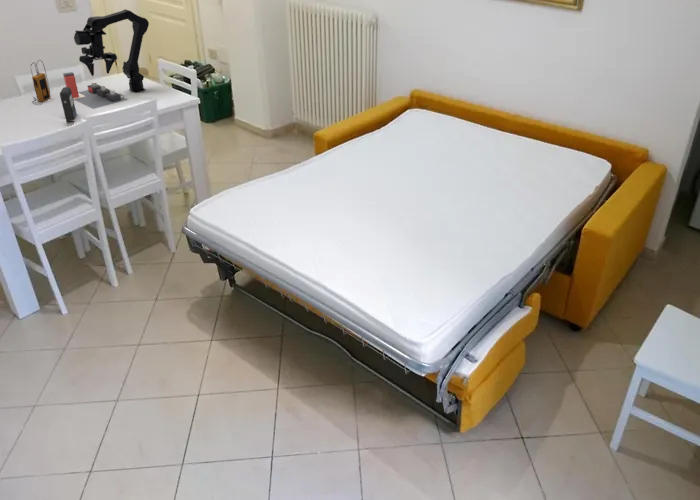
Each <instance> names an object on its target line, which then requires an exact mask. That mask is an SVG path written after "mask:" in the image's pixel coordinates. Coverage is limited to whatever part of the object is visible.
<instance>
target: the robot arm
mask: <svg viewBox="0 0 700 500" xmlns="http://www.w3.org/2000/svg"><path fill="white" fill-rule="evenodd" d="M125 20H126V21H129V22H131V23H132V25H131V26H132V31H133V32H132V33H133V35H132V40H131V45H130V50H129V55H128V59H127V60H126V61H123V64H122V73H123V75H124V76H126V78H127V79H128V85H129V91H130V92H133V93H140V92H143V91H146V88H144V83H143V81H144V78H145V76H144V75H143V74H142V73H140V66H139V59H140V53H141V47H142V43H143V37H144V35H145V34H146V33H147V31H148V28H149V25H150V23H149V21H148V19H147V18H146V17H143V16H140V15H137V14H136V13H135V12H132V10H129V9H125V8H124V9H122V10H120V11H116V12H113V13H110V14H107V15H104V16H103V15H102V16H96V15H95V16H90V17H88V18H87V20H86V24H85V26H84V28H83V29H82V30H77V29H76V30H75V33H74V35H73V40H74V44H75V45H76V46H83V45H85V46H87V45H89V47H88V48H87V47H81V53H82V55H80V56H79V62H80V63H82V64H84V65H85V66H86V67H87V69H88V71H89V74H90V75H91V76H92V77H94V75H95V63H93V62H94V61H99V60H104V62H105V71H106V74H110V73H111V69H112V66H113V65H114V63H115V62H116V61H117V60H118V55H117V54H116V53H113V52H105V50H106V46H104V41H103V36H105V35H107V33H106V32H105V31H104V29H106V28H107V27H108V26H110V25H112V24H116V23H119V22H121V21H122V22H123V21H125Z"/></svg>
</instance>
